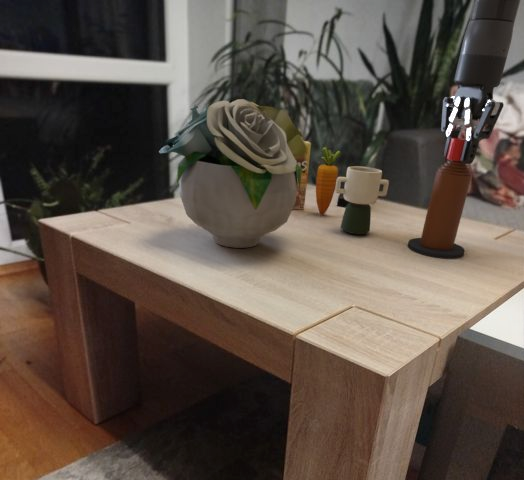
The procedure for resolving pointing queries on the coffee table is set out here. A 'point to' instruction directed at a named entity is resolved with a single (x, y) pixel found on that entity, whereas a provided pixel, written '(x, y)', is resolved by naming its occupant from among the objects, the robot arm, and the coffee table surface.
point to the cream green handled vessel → (360, 196)
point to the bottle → (446, 205)
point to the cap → (456, 149)
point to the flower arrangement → (238, 170)
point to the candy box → (302, 177)
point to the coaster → (417, 247)
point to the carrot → (326, 181)
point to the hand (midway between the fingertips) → (457, 160)
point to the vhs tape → (342, 201)
